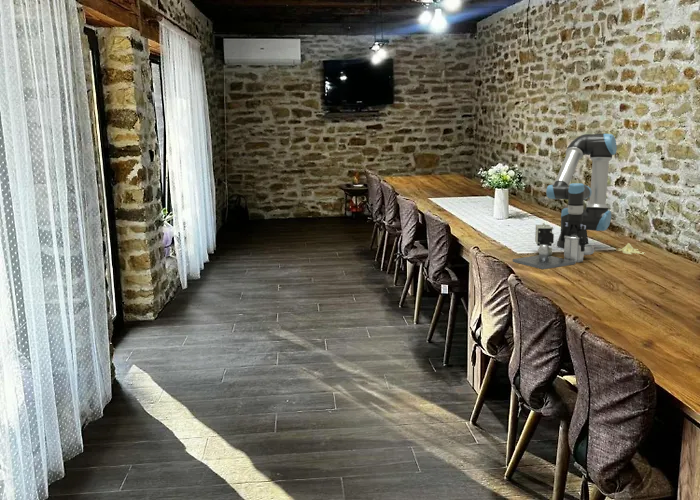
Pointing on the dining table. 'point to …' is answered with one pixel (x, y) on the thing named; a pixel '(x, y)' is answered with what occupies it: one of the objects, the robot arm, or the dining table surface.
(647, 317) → the dining table surface
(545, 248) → the grey metal plate
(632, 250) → the cloth
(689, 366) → the dining table surface
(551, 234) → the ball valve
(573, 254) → the grey metal fitting
